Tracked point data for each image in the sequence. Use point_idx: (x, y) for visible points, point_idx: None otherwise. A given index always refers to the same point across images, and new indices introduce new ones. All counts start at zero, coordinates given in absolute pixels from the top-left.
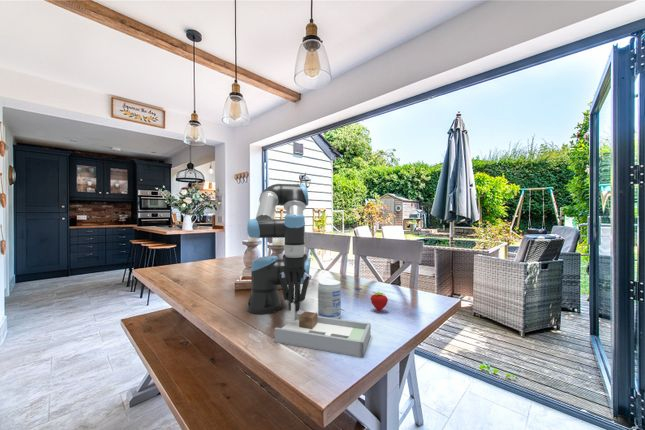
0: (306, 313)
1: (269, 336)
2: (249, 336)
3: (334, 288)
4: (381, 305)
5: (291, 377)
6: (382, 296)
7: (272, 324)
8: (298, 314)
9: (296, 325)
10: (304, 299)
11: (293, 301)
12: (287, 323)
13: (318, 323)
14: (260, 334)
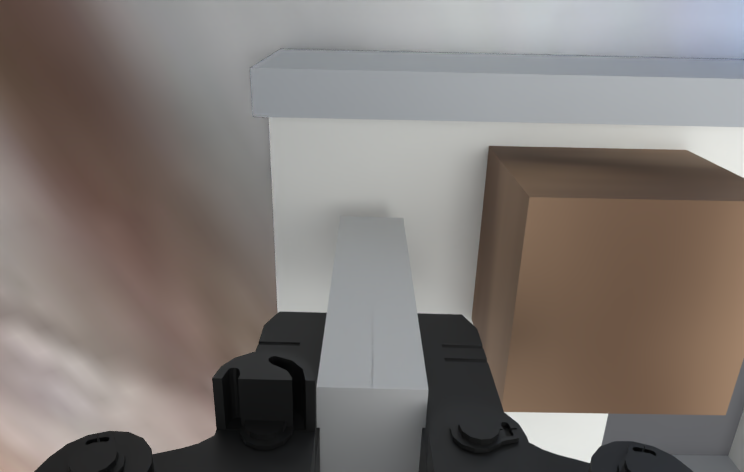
0: (594, 281)
1: (190, 399)
2: (16, 447)
3: None
4: None
5: None
6: None
7: (20, 136)
8: (370, 107)
9: (421, 285)
10: (674, 461)
11: (329, 441)
12: (279, 263)
13: (708, 134)
14: (80, 390)
